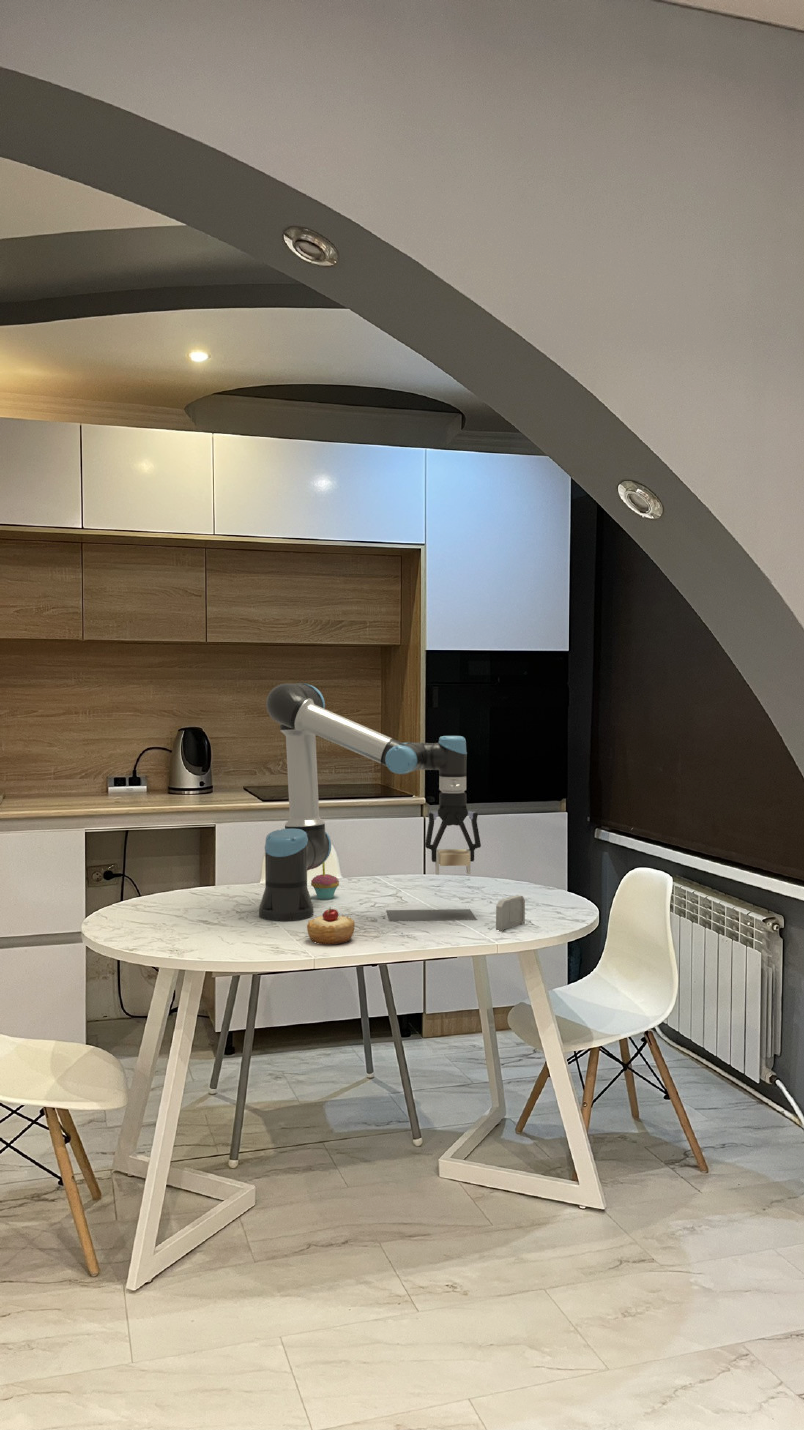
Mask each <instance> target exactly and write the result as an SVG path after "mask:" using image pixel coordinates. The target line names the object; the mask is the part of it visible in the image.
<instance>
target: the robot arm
mask: <svg viewBox="0 0 804 1430" xmlns="http://www.w3.org/2000/svg"><path fill="white" fill-rule="evenodd" d="M265 703H266V704H265V706H266V707H265V708H266V712H267V713H268V715H269V718H270V719H272V720H273V721H274V722H276V723H278V724H279V727H280V729H279V730H280V732H281V733H282V734H283V735H284V736H285V747H286V763H287V765H286V767H287V787H288V790H287V791H288V805H289V807H288V809H289V819H288V820H287V821H286V822H285V824H284V828H282V829H277V830H273V831H271V832H269V833H268V834H267V835H266V838H265V844H264V854H265V855H264V856H265V857H264V858H265V859H264V861H265V863H264V864H265V865H264V868H265V869H264V870H265V871H264V874H265V876H264V877H265V878H264V880H265V882H264V883H265V885H264V886H265V887H264V891H263V895H262V898H261V901H260V904H259V906H258V907H259V908H258V917H260V918H261V919H265V920H269V921H271V920H272V921H278V922H279V921H281V922H282V921H283V922H284V921H285V922H287V921H298V920H299V921H300V920H305V919H309V918H311V917H313V916H314V904H313V901H312V898H311V895H310V892H309V888H308V871H310V870H314V869H317V868H318V867H320V866H321V865H322V863H324V862H326V861H327V860H328V859H329V857H330V854H331V851H332V841H331V837H330V836H329V834H328V833H327V832H326V825H325V824H326V823H325V821H324V820H323V819H322V818H321V817H320V808H319V807H320V804H319V801H320V800H319V784H318V783H319V781H318V763H317V743H316V742H317V741H316V740H317V739H316V736H318V737H319V738H322V739H324V740H327V741H328V742H331V743H333V744H335V745H338V746H341V747H342V748H345V749H347V750H349V751H351V752H354V753H356V754H359V755H360V756H363V757H365V758H367V759H370V760H372V761H375V762H376V763H379V764H381V765H383V766H384V767H387V769H388V770H389V771H390V772H392V773H394V774H397V775H398V774H399V775H406V774H408V773H412V772H417V771H419V770H420V771H423V770H424V771H425V770H426V771H428V770H429V771H431V770H433V771H439V773H438V774H439V776H438V777H439V780H438V781H439V782H438V785H439V787H438V790H439V791H440V792H439V793H438V794H439V795H438V797H439V799H438V802H439V803H438V804H439V805H438V810H437V811H434V812H431V811H429V812H428V814H427V817H428V824H427V830H426V831H427V832H426V837H425V842H424V846H425V848H426V849H427V850H428V849H429V850H431V851H430V852H431V862H432V863H435V864H434V866H435V868H434V869H435V875H436V876H437V875H440V864H439V850H437V849H438V847H439V844H440V843H441V840H442V837H443V835H444V833H445V831H446V829H447V828H448V827H449V826H459V829H460V831H461V832H462V835H463V837H464V839H465V842H466V844H467V846H468V848H467V849H465V850H466V851H467V852H468V853H469V854H470V862H475V850H477V849H479V848H481V846H482V843H481V839H480V837H481V836H480V833H479V827H478V826H479V825H478V815H479V814H478V812H477V811H469V810H468V808H467V793H466V792H465V791H467V757H468V756H467V755H468V752H467V741H466V738H465V737H464V736H461V735H443V736H440V737H439V738H438V742H434V743H433V742H432V743H431V742H430V743H429V742H412V741H409V742H402V741H400V740H396V739H394V738H392V737H390V736H387V735H385V734H383V733H380V732H378V731H377V730H374V729H371V728H370V727H367V726H365V725H363V724H360V723H358V722H355V721H353V720H351V719H348V718H346V717H344V716H342V715H340V714H337V713H334V712H332V711H331V710H328V709H327V708H326V702H325V698H324V696H323V694H322V692H321V691H320V690H319V689H318V688H317V687H315V686H314V685H312V684H308V683H302V682H299V683H281V684H278V685H275V686H274V687H273V688H272V689H271V690H270V692H269V693H268V695H267V697H266V702H265ZM325 708H326V709H325ZM467 816H468V818H469V819H470V821H471V827H472V833H473V838H474V842H473V841H472V838H471V836H470V835H469V832H468V830H467V828H466V825H465V823H464V821H465V819H466V818H467ZM437 817H439V818H440V820H441V822H440V823H441V824H440V826H439V829H437V830H438V831H437V833H436V835H435V837H434V840H433V842H432V837H433V832H434V826H435V820H437ZM465 871H466V874H467V875H471V865H470V866H466V869H465Z"/></svg>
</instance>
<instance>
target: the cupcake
mask: <svg viewBox="0 0 804 1430" xmlns="http://www.w3.org/2000/svg"><path fill="white" fill-rule="evenodd" d="M325 862H326V861H325ZM325 862H324V863H322V864H321V865H322V874H318V875H315V876H314V877H313V878H312V879H311V882H310V885H311V887H312V888H313V889H314V891H315V894H316V898H317V899H320V900H331V899H333V898H334V896H335V892H336V890H337V888H338V887H339V886H340V881H339V878H337V876H334V875H332V874H329V873H327V874H326V867H325V866H326V864H325Z"/></svg>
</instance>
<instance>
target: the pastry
mask: <svg viewBox="0 0 804 1430" xmlns="http://www.w3.org/2000/svg"><path fill="white" fill-rule="evenodd" d="M339 915H340V914H339V912H338V910H337V909H336V908H335V909H334V908H332V907H331V906H330V907H329V909H326V910H325V911H324V912H323V913H322V915H319V916H317V917H315V918H313V919H310V920H309V921H308V923H307V924H306V928H307V929H306V930H307V935H308V937H309V939H310V941H311V942H313V943H314V942H316V943H315V944H317V943H319V944H318V945H328V946H329V945H339V944H340V945H341V944H344V943H347V942H349V941H351V939H352V937H353V935H354V933H355V925H356V924H355V920H354V919H353V918H351V917H349V916H344V915H342V916H341V915H340V916H339Z"/></svg>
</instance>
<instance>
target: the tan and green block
mask: <svg viewBox="0 0 804 1430" xmlns="http://www.w3.org/2000/svg"><path fill="white" fill-rule="evenodd" d="M436 850H439V866H440V867H451V866H452V867H454V866H455V867H456V866H458V867H459V866H462V867H464V866H470V867H471V861H470V854H469V853H468V852H467V851H466V849H465V848H459V849H458V848H457V849H456V848H452V849H451V848H450V849H449V848H445V849H441V848H440V849H438V848H437V849H436Z"/></svg>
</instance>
